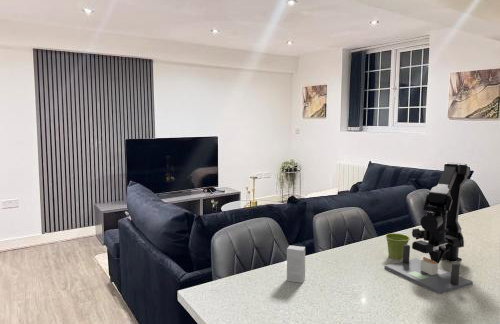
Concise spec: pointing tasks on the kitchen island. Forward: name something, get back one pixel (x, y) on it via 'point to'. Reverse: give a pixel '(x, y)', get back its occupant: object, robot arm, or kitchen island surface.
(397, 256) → the plant pot
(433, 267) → the orange striped block
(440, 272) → the panel
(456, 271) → the cord post
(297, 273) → the skincare box
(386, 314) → the kitchen island surface
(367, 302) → the kitchen island surface
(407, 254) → the cord post
